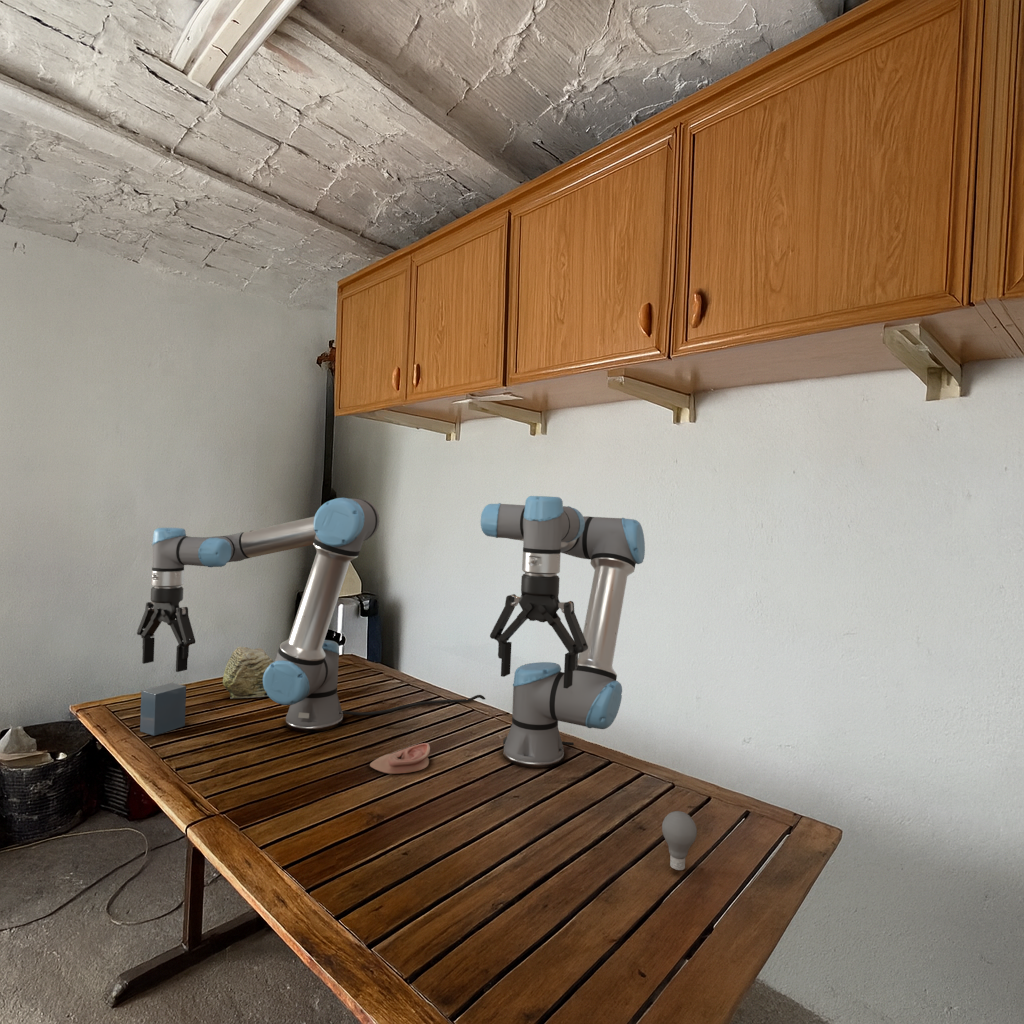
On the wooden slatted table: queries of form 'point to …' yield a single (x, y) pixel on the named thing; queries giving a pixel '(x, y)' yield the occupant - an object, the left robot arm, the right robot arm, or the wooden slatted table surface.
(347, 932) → the wooden slatted table surface
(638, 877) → the wooden slatted table surface
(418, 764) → the anatomical model
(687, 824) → the light bulb
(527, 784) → the wooden slatted table surface
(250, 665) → the fossil
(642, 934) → the wooden slatted table surface
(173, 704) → the brick
